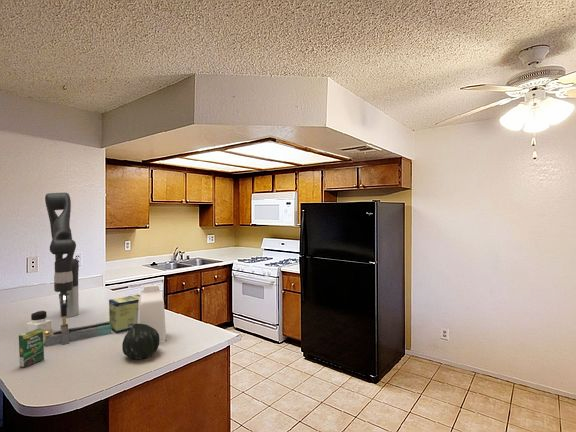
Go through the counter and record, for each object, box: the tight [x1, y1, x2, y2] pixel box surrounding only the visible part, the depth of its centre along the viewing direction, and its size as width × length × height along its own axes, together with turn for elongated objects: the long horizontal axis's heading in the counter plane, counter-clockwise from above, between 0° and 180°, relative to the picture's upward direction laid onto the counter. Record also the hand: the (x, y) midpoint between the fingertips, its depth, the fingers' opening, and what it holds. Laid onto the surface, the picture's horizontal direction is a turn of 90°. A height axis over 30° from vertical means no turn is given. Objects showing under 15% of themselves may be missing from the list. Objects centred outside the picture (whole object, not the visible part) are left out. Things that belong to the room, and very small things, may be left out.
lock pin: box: [61, 316, 68, 326], centre depth 164 cm, size 2×2×9 cm
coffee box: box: [18, 328, 45, 369], centre depth 137 cm, size 8×3×13 cm, turn 159°
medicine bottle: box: [26, 310, 52, 338], centre depth 166 cm, size 7×7×12 cm
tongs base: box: [43, 323, 113, 347], centre depth 164 cm, size 11×29×6 cm, turn 126°
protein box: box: [108, 294, 141, 335], centre depth 178 cm, size 10×16×16 cm
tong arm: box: [52, 320, 110, 335], centre depth 167 cm, size 2×24×4 cm, turn 127°
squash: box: [121, 324, 160, 360], centre depth 144 cm, size 14×15×15 cm
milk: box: [138, 284, 167, 343], centre depth 162 cm, size 12×12×26 cm
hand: (64, 316), depth 164 cm, fingers closed
